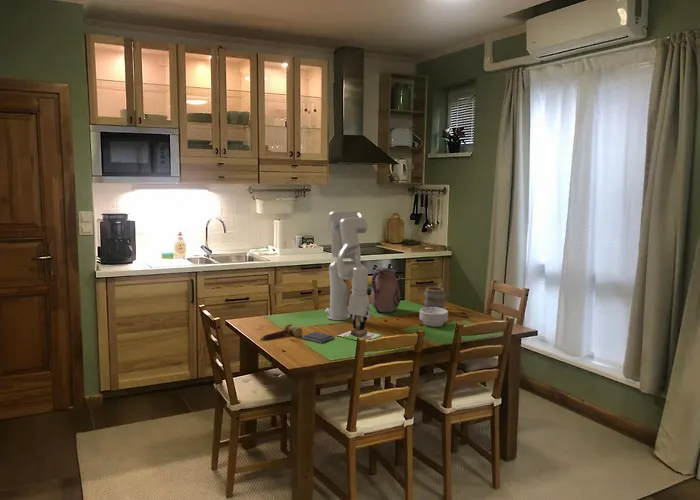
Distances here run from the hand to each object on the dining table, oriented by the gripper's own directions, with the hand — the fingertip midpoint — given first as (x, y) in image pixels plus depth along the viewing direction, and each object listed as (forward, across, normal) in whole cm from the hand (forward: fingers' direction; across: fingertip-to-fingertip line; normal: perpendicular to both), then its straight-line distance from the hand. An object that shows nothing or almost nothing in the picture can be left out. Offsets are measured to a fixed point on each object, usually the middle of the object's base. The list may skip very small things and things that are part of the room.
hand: (359, 328), depth 280 cm
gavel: (+5, -30, -25) cm, 40 cm away
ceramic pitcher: (+4, -17, +50) cm, 53 cm away
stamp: (+3, 0, 0) cm, 3 cm away
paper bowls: (+4, +19, +43) cm, 47 cm away
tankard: (+4, +6, +72) cm, 72 cm away
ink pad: (+4, -13, -16) cm, 21 cm away
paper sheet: (+4, 0, 0) cm, 4 cm away
